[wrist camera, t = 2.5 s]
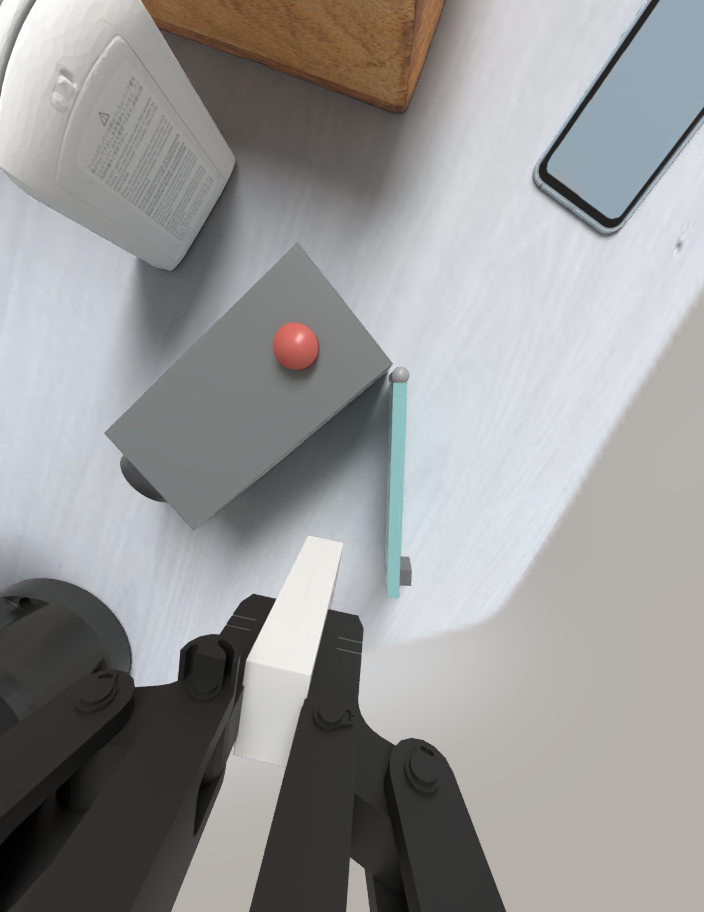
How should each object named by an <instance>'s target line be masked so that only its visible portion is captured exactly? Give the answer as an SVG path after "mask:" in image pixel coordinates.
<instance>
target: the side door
mask: <svg viewBox="0 0 704 912" xmlns="http://www.w3.org/2000/svg"><path fill="white" fill-rule="evenodd" d="M408 379H409V372H408V370H407V369H406V368H404V367H397V368H396V369H394V371H393V372H392V373H391V374H390V375H389V382H390V383H391V384H390V395H389V430H388V465H387V500H386V535H385V567H386V590H387V598H399V585H406V586H411V575H412V570H411V564H410V559H409V557H401V531H402V505H403V479H404V453H405V427H406V401H407V383H406V382H407V381H408Z"/></svg>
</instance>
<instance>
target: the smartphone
mask: <svg viewBox="0 0 704 912" xmlns="http://www.w3.org/2000/svg"><path fill="white" fill-rule="evenodd" d="M703 121H704V0H646V1H645V3H644V4H643V6H642V7H641V8H640V10H639V11H638V13H637V16H636V17H634V19H633V20H632V22H631V23H630V25H629V26H628V28H627V29H626V31H625V32H624V34H623V35H622V38H621V39H620V41H619V42H618V44H617V45H616V47H615V48H614V50H613V51H612V53H611V54H610V56H609V57H608V59H607V60H606V61H605V63H604V64H603V66H602V67H601V69H600V70H599V72H598V73H597V75H596V76H595V78H594V79H593V81H592V82H591V84H590V85H589V87H588V88H587V89H586V91H585V92H584V94H583V95H582V97H581V98H580V100H579V101H578V103H577V104H576V106H575V107H574V109H573V110H572V112H571V113H570V115H569V116H568V118H567V119H566V120H565V122H564V123H563V125H562V126H561V128H560V129H559V131H558V132H557V134H556V135H555V137H554V138H553V140H552V141H551V143H550V144H549V146H548V147H547V148H546V150H545V151H544V153H543V154H542V156H541V157H540V159H539V160H538V162H537V163H536V165H535V168H534V171H533V178H534V181H535V183H536V185H537V186H538V187H540V188H541V189H542V190H544V191H545V192H546V193H548V194H549V195H551V196H552V197H554V199H556V200H557V201H558V202H560V203H561V204H563V205H564V206H566V207H567V208H569V209H570V210H571V211H573V213H574V214H576V215H577V216H578V217H580V218H582V219H583V220H585V222H588V224H590V225H591V226H593V228H596V230H597V231H599V232H600V233H604V234H609V233H612V232H615V231H616V230H618V229H619V228H621V227H622V226H623V225H624V224H625V222H626V221H627V220H628V219H629V217H630V216H631V215H632V213H633V212H634V211H635V209H636V208H637V207H638V206H639V204H640V203H641V202H642V200H643V199H644V198H645V196H646V195H647V194H648V193H649V191H650V190H651V189H652V187H653V186H654V185H655V183H656V182H657V181H658V180H659V178H660V177H661V176H662V174H663V173H664V172H665V170H666V169H667V168H668V167H669V165H670V164H671V163H672V161H673V160H674V159H675V157H676V156H677V155H678V154H679V152H680V151H681V150H682V148H683V147H684V146H685V144H686V143H687V142H688V141H689V139H690V138H691V137H692V135H693V134H694V133H695V131H696V130H697V129H698V128H699V126H700V125H701V124H702V122H703Z"/></svg>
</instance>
